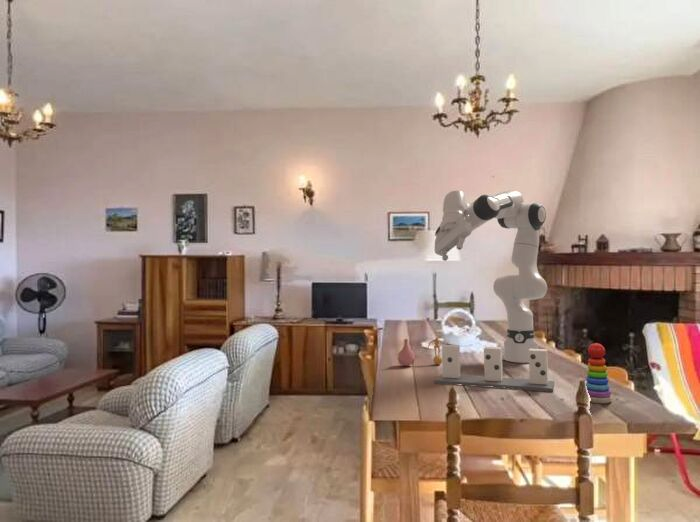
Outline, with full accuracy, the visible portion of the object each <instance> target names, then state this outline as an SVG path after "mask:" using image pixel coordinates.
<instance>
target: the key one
mask: <svg viewBox="0 0 700 522" xmlns="http://www.w3.org/2000/svg"><path fill="white" fill-rule="evenodd" d="M460 347H461V346H460V345H456V344H445V345H444V344H443V345H442V346H441V358H442V363H441V364H442V367H441V369H442V374H443V377H445V378H459V377H460V375H461V352H460V350H461V349H460Z"/></svg>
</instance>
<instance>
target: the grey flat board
mask: <svg viewBox="0 0 700 522" xmlns="http://www.w3.org/2000/svg"><path fill="white" fill-rule="evenodd" d="M434 383H435V384H440V385H441V384H442V385H452V384H462V385H461V386H465V385H476V386H475V387H479V386H493V387H505V388H514V389H513V390H518V389H524V390H523V391H532V390H533V391H534V392H535V391H536V392H544V393H545V392H546V393H547V392H548V393H553V392H554V390H555V389H554V388H555V380H548V384H547V385H545V384H530V378H518V377H517V378H515V377H503V379H502V381H488V380H485V375H470V374H469V375H468V374H460V377H459V378H445V377H443V373H441V374H440V375H439V376H438V377H436V378H435V379H434ZM505 388H504V389H505Z"/></svg>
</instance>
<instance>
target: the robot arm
mask: <svg viewBox="0 0 700 522" xmlns="http://www.w3.org/2000/svg"><path fill="white" fill-rule="evenodd" d="M442 205H443V206H442V212H443V215H442V217H441V218H442V221H440V223H439V224H440V225H439V226H438V227H437V229H436V230H435V232H434V237H435V239H434V253H435V254H436V255H438V256H440V257H441V259H442V261H445V262H447V261H448V260H449V255H448V253H449V252H450V251H451V250H452V249H454V248H455V247H456V250H458V251H460V250H462V249H463V247H464V244H465V239H467V237H469V236H470V235H471V234H472V232H473V231H475V230H476V229H478V228H479V227H481V226H483V225H484V224H486V223H487V222H488V221H491V220H492V219H497V223H498V224H499V226H500V227H501V228H504V229H508V230H509V229H517V232H516V234H515V236H514V237H515V238H514V243H513V248H512V253H511V254H512V255H511V260H510V261H511V263H512V264H513V265H514V266H515V267H516V268H518V274H517V275H516V274H515V275H513V274H511V275H509V274H508V275H502V276H498V277H497V278H496V279H495V280H494V282H493V292H494V294H495V295H496V296H497V297H498V298H499V299H500V300H501V302H502V303H503V306H504V307H505V311H506V314H507V317H506V318H507V329H506V336H507V337H506V339H505V341H503V354H502V361H506V362H511V363H523V364H529V349H539V343H538V342H537V340H536V339H535V336H536V335H535V334H536V331H535V329H534V314H533V312H532V310H531V309H530V308H528V307H527V306H526V305H525V303H524V301H523V300H526V301H527V300H528V301H529V300H531V301H532V300H538V299H542V298H544V297H545V296H546V294H547V292H548V284H547V281H546V280H545V279H544V278H543V276H542V275H540V272H539V269H538V265H537V264H538V255H539V246H540V229H541V227H542V226H543V225H544V224H545V221H546V218H547V212H546V211H547V210H546V208H545V207H544V206H543V205H542V204H541V203H524V197H523V195H522V193H520V192H519V191H517V190H506V191H501V192H499V193H496V194H495V195H488V194H482V195H480V196H479V197H478V198H476V199H475V200H474V201H472V202H471V203H468V202H467V200H466V197H465V194H464V192H463V191H461V190H452V191H450V192H448V193H446V195H445V196H444V200H443V204H442Z"/></svg>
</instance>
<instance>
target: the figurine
mask: <svg viewBox="0 0 700 522" xmlns="http://www.w3.org/2000/svg"><path fill="white" fill-rule="evenodd" d="M431 343H433V344H434V345H433V349H434V355H435V356H434V357H433V359H432V362H433V364H434V365H437V366H440V365H441V364H442V356H441V355H440V353H441V345H440V343H442V344H443V345H446V344H445V342H444V341H443V340H440V339H439V338H438V337H435V338H434V339H433V340H431V341H429V343H428V346H427V349H430V345H431ZM437 350H438V353H437Z"/></svg>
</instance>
